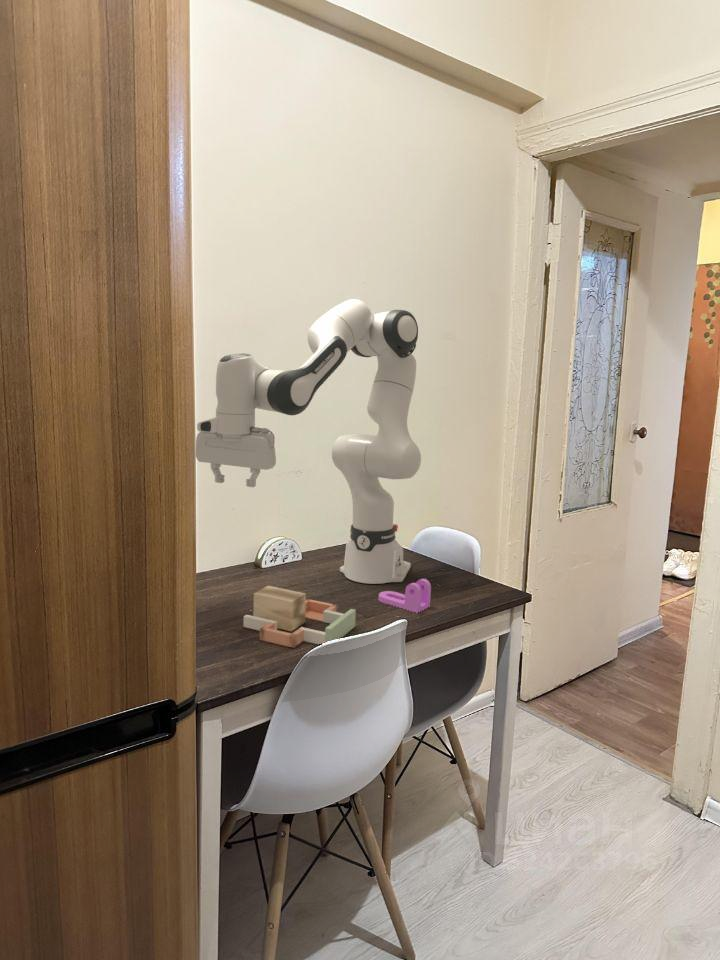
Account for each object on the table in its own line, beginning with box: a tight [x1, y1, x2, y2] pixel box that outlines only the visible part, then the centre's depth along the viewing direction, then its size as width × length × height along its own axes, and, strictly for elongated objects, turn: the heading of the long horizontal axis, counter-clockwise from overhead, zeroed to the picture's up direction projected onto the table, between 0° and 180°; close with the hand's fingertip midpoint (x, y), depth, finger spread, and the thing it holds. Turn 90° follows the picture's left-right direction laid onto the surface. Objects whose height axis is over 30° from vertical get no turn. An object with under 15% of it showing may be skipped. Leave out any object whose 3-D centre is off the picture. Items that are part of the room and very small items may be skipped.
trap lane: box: [243, 598, 357, 649], centre depth 152 cm, size 20×22×4 cm
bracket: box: [378, 578, 432, 614], centre depth 168 cm, size 13×6×7 cm, turn 51°
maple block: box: [253, 585, 307, 632], centre depth 154 cm, size 6×10×7 cm, turn 64°
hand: (235, 484), depth 158 cm, fingers open, 7 cm apart
